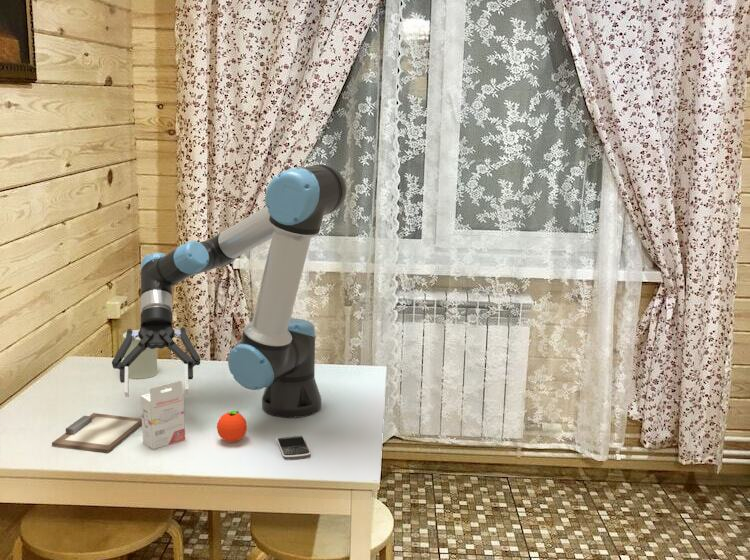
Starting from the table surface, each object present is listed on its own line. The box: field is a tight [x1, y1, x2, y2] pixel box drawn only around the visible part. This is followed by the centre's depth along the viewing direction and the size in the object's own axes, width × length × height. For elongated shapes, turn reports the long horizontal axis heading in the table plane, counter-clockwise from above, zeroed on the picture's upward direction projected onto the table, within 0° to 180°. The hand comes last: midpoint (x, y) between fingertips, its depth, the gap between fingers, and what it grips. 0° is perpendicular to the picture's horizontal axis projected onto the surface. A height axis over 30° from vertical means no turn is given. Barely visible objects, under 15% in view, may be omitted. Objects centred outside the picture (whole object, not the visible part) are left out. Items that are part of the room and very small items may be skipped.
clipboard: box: [51, 412, 142, 454], centre depth 203 cm, size 14×18×2 cm
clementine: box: [216, 410, 248, 443], centre depth 201 cm, size 8×7×7 cm
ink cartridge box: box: [140, 380, 186, 450], centre depth 198 cm, size 9×5×15 cm, turn 132°
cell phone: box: [276, 435, 311, 460], centre depth 198 cm, size 6×11×1 cm, turn 16°
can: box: [122, 329, 159, 380], centre depth 242 cm, size 9×9×12 cm
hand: (156, 393), depth 201 cm, fingers open, 13 cm apart
